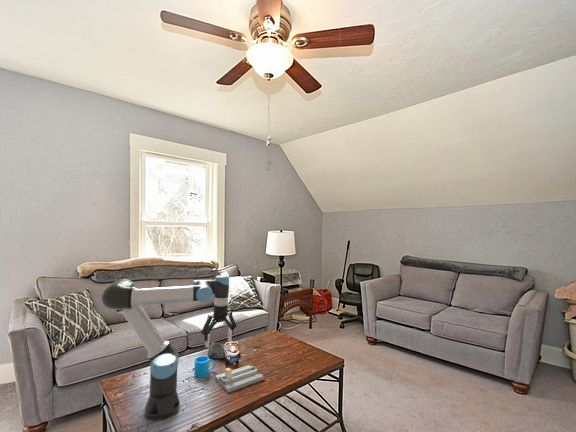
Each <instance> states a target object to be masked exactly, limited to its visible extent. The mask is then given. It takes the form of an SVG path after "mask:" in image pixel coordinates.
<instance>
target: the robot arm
mask: <svg viewBox="0 0 576 432" xmlns="http://www.w3.org/2000/svg"><path fill="white" fill-rule="evenodd" d="M229 291H230V277H229V275H216V276H215V278H214V279H197V280H195V279H194V280H192V283H191V285H182V286H181V285H180V286H179V285H177V286H166V287H163V286H162V287H161V286H160V287H150V288H149V287H148V288H146V287H145V288H137V287H136V284H135V283H134V282H133V281H131V280H130V279H127V278H126V279H125V278H121V279H117V280H116V281H114V282H112V283H110V285H108V286H107V287H106V288H105V289H104V291H103V292H102V294H101V302H102V304H103V306H104V307H106V309H109V310H113V311H114V310H115V311H116V312H117V314H122V315H123V318H125V320H126V321H127V323H128V324H129V325H130V327H131V329H132V330H133V332H134V333H135V335H136V336H137V338H138V339H139V341H140V342H141V343H142V345H143V347H144V348H145V349H146V351H147V356H146V358H148V360H149V362H150V368H149V369H150V370H149V371H150V377H149V378H150V379H149V396H148V398H147V401H146V404H145V407H144V416H145V418H147V419H148V420H151V421H161V420H162V421H163V420H165V419H168V418H171V417H172V416H174V415H175V414H176V413H178V411H179V410H180V408H181V407H180V405H181V404H180V403H181V402H180V397H179V393H178V391H177V388H178V387H177V385H178V384H177V382H178V381H177V380H178V367H179V366H178V365H179V360H180V359H179V358H180V356H179V355H180V354H179V351H178V349H177V347H176V346H174V345H173V344H171V343H170V341H169V340H165V339H164V338H163V336H162V335H161V333H160V331H159V330H158V329H157V326H155V324H154V323H153V321H152V320H151V318H150V317H149V315H148V313H147V312H146V310H145V309H144V307H143V306H148V305H149V306H151V305H162V304H165V305H166V304H175V303H188V302H189V303H190V302H200V303H207V302H209V301H210V300H211V299H212V297H214V298H213V304H214V305H213V314H207V317H206V318H207V319H206V321H205V323H204V325H203V328H202V330H201V331H200V333H201V334H202V335H203V337H204V339H203V340H204V344H205V345H204V346H205V347H206V348H207V349H209V347H210V336H211V335H210V333H211V331H212V330H213V328H214V327H215V326H216V325H217V324H219V323H225V324H226V325H227V327H229V328H228V331H227V342H229V343H231V342H232V339H233V338H232V337H233V335H234V330H235V328H237V327H238V326H237V324H236V322H235V319H234V316H233V311H228V309H229V305H228V304H229ZM213 295H214V296H213ZM227 318H229V320H228V319H227Z"/></svg>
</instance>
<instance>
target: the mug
mask: <svg viewBox="0 0 576 432" xmlns="http://www.w3.org/2000/svg"><path fill="white" fill-rule="evenodd" d="M210 362H212V363H213V365H212V366H211V368H210ZM215 367H216V361H215V360H214V359H213V358H212V359H211V358H210V357H208V356H205V355H204V356H203V355H202V356H198V357H196V358H195V359H194V372H193V373H194V375H193V376H194V377H196V378H204V377H207V376H208V375H209V372H211V371H212V370H214V368H215Z"/></svg>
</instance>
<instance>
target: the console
mask: <svg viewBox="0 0 576 432" xmlns="http://www.w3.org/2000/svg"><path fill="white" fill-rule="evenodd" d="M231 370H232V374H231V378H229V379H225V372H221V373H219V374H216V375H215V378H214V380H215V381H216V382H217V383H218V384H219V385H220V386H221V387H222V388H223V389H224V390H225V392H226V393H231V392H233V391H237V390H238V389H242V388H245V387H247V386H249V385H253V384H255V383H259V382H261V381H263V380H264V375H263V374H261V373H260V370H259V369H258V368H257V367H256V366H254V365H250V364H248V365H244V366H241V367H239V368H236V369H234V368H233V369H231Z"/></svg>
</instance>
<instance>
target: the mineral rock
mask: <svg viewBox="0 0 576 432" xmlns="http://www.w3.org/2000/svg"><path fill="white" fill-rule="evenodd" d="M225 351H226V349H224V346H223V345H222V344H221V343H219V342H218V341H217V342H211V343H210V344H209V348H208V351H207V357H208V358H210V359H211V358H212V359H220V360H221V359H225Z"/></svg>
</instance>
